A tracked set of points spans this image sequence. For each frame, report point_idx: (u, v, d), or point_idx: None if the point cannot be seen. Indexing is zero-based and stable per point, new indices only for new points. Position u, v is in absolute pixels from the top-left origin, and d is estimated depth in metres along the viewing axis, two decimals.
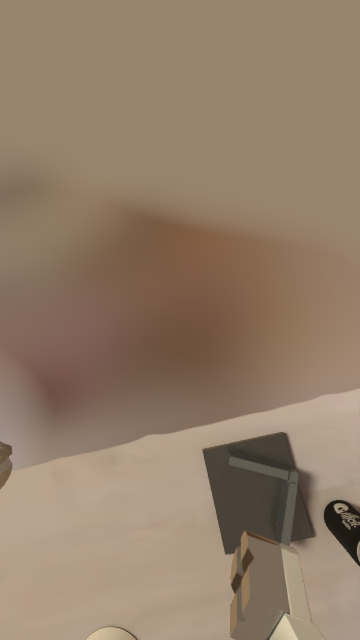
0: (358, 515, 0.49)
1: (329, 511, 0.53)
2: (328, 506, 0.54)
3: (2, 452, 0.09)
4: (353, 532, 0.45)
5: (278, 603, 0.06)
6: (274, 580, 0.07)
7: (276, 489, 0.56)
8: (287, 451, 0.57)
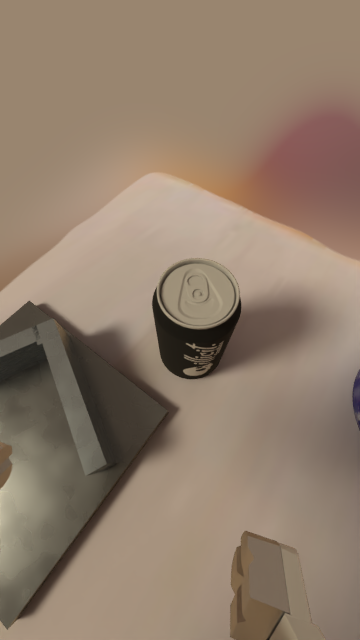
0: None
1: None
2: None
3: (2, 452, 0.09)
4: None
5: (278, 603, 0.06)
6: (274, 580, 0.07)
7: None
8: (48, 319, 0.29)
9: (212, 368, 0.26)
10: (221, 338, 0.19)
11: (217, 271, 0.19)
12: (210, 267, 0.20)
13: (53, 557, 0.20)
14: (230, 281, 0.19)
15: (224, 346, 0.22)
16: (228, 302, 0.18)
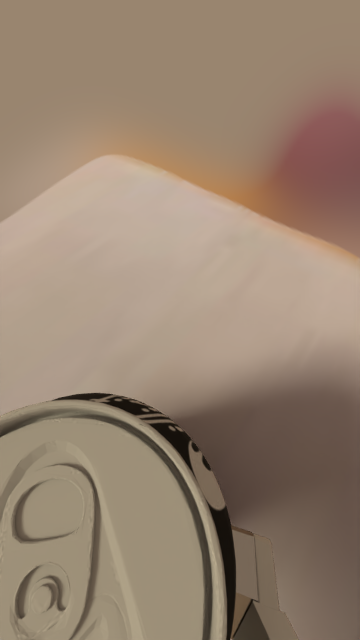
0: None
1: None
2: None
3: None
4: None
5: (247, 591, 0.06)
6: (245, 569, 0.07)
7: None
8: None
9: None
10: None
11: (142, 460, 0.05)
12: (119, 436, 0.05)
13: None
14: (190, 510, 0.05)
15: None
16: None
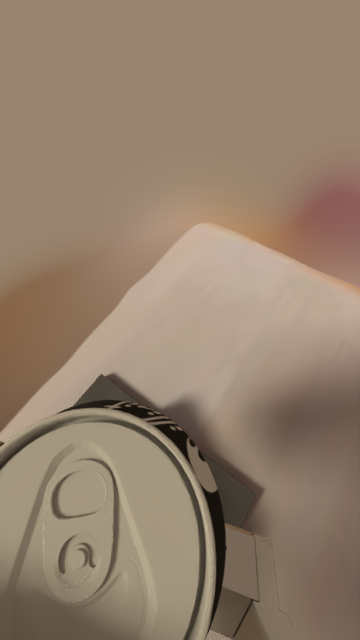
0: None
1: None
2: None
3: None
4: None
5: (247, 591, 0.06)
6: (245, 569, 0.07)
7: None
8: (123, 395, 0.29)
9: None
10: None
11: (149, 454, 0.06)
12: (131, 436, 0.07)
13: None
14: (188, 492, 0.06)
15: None
16: (177, 604, 0.05)
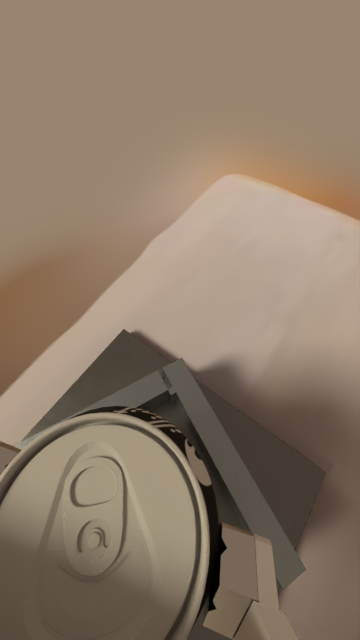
0: None
1: None
2: None
3: None
4: None
5: (247, 591, 0.06)
6: (245, 569, 0.07)
7: None
8: (152, 353, 0.24)
9: None
10: None
11: (153, 452, 0.07)
12: (137, 436, 0.08)
13: None
14: (186, 484, 0.07)
15: None
16: (177, 576, 0.06)
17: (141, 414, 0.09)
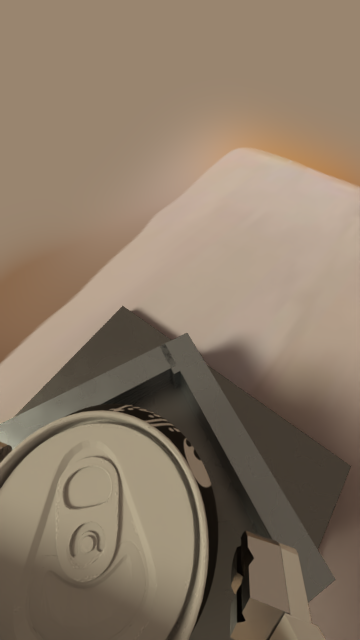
0: None
1: None
2: None
3: (2, 452, 0.09)
4: None
5: (278, 603, 0.06)
6: (274, 580, 0.07)
7: (188, 431, 0.18)
8: (154, 332, 0.22)
9: None
10: None
11: (150, 452, 0.07)
12: (134, 436, 0.07)
13: None
14: (185, 485, 0.07)
15: None
16: (175, 583, 0.06)
17: (138, 412, 0.08)
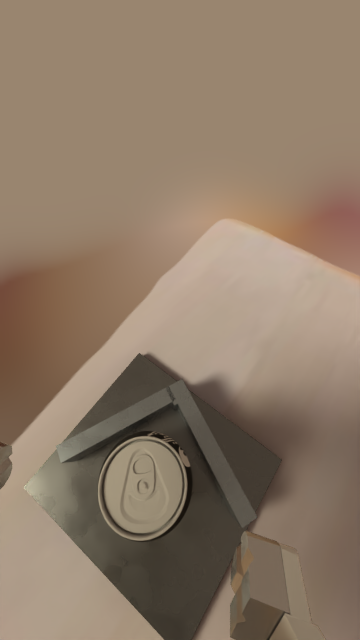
0: None
1: None
2: None
3: (2, 452, 0.09)
4: (98, 479, 0.18)
5: (278, 603, 0.06)
6: (274, 580, 0.07)
7: (183, 438, 0.29)
8: (160, 372, 0.32)
9: None
10: (169, 531, 0.17)
11: (165, 453, 0.18)
12: (159, 446, 0.18)
13: (208, 594, 0.24)
14: (179, 465, 0.18)
15: None
16: (175, 498, 0.17)
17: (159, 435, 0.19)
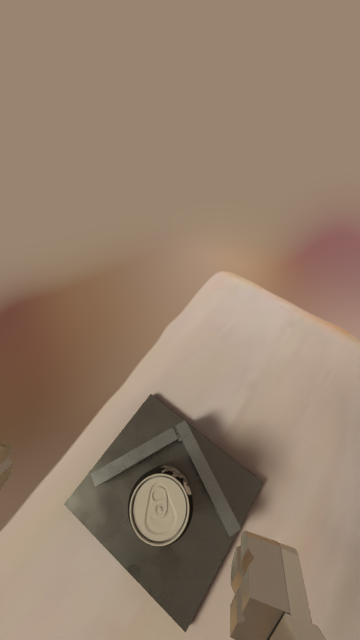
0: None
1: None
2: None
3: (2, 452, 0.09)
4: (128, 503, 0.27)
5: (278, 603, 0.06)
6: (274, 580, 0.07)
7: (186, 465, 0.37)
8: (168, 410, 0.41)
9: None
10: (177, 539, 0.26)
11: (174, 485, 0.26)
12: (169, 480, 0.27)
13: (205, 586, 0.32)
14: (183, 494, 0.26)
15: None
16: (181, 517, 0.25)
17: (169, 471, 0.28)
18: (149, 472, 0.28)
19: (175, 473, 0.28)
